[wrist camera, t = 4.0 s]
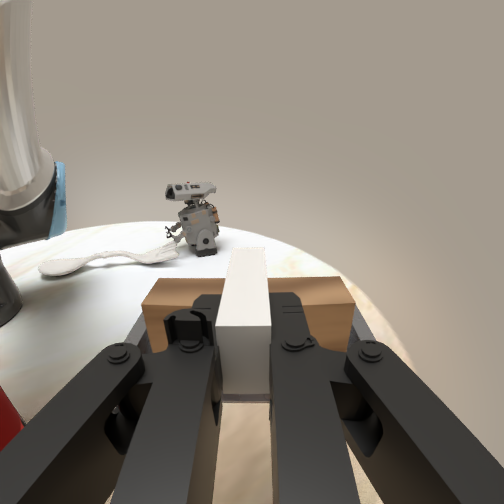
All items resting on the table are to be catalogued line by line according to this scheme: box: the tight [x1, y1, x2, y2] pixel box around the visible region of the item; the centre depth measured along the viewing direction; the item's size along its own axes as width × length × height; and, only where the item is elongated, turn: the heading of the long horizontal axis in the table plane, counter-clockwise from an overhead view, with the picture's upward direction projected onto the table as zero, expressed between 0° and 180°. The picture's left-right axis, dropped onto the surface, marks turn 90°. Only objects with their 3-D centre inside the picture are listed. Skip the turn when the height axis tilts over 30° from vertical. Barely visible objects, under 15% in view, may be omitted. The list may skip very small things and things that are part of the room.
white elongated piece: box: [38, 241, 179, 276], centre depth 53 cm, size 9×32×4 cm, turn 105°
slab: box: [141, 276, 356, 353], centre depth 25 cm, size 5×17×9 cm, turn 89°
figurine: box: [165, 182, 220, 257], centre depth 59 cm, size 9×12×15 cm
